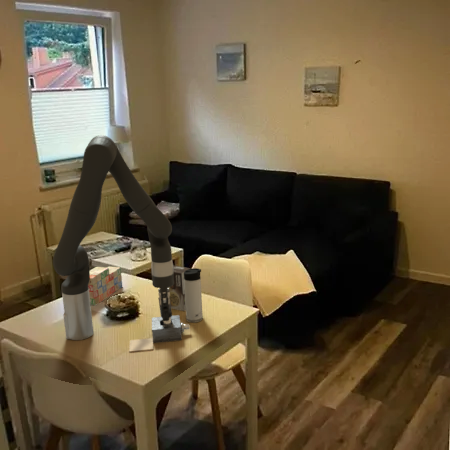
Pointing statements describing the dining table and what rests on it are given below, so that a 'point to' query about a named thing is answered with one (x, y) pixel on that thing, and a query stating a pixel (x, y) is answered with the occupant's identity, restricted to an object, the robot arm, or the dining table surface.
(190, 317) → the travel mug
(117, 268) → the stack of blocks
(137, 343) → the cork mat
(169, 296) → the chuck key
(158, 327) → the block
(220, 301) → the dining table surface
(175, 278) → the coffee box
